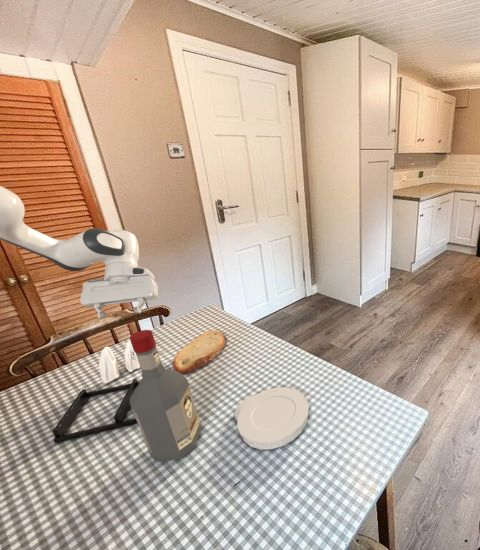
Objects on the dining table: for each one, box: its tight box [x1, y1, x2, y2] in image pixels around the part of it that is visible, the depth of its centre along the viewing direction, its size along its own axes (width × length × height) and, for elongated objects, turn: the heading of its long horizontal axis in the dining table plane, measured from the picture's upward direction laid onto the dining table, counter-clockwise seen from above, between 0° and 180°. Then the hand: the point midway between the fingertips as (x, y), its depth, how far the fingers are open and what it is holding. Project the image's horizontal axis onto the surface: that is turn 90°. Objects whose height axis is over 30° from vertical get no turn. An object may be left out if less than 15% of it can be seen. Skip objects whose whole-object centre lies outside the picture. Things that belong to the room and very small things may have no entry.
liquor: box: [129, 329, 203, 463], centre depth 65 cm, size 9×9×30 cm
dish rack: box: [51, 378, 140, 444], centre depth 80 cm, size 19×16×3 cm
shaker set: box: [98, 338, 141, 385], centre depth 91 cm, size 12×4×11 cm, turn 159°
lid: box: [233, 386, 310, 450], centre depth 77 cm, size 17×20×3 cm
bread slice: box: [172, 330, 226, 375], centre depth 102 cm, size 18×18×4 cm
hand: (119, 315), depth 96 cm, fingers open, 8 cm apart
